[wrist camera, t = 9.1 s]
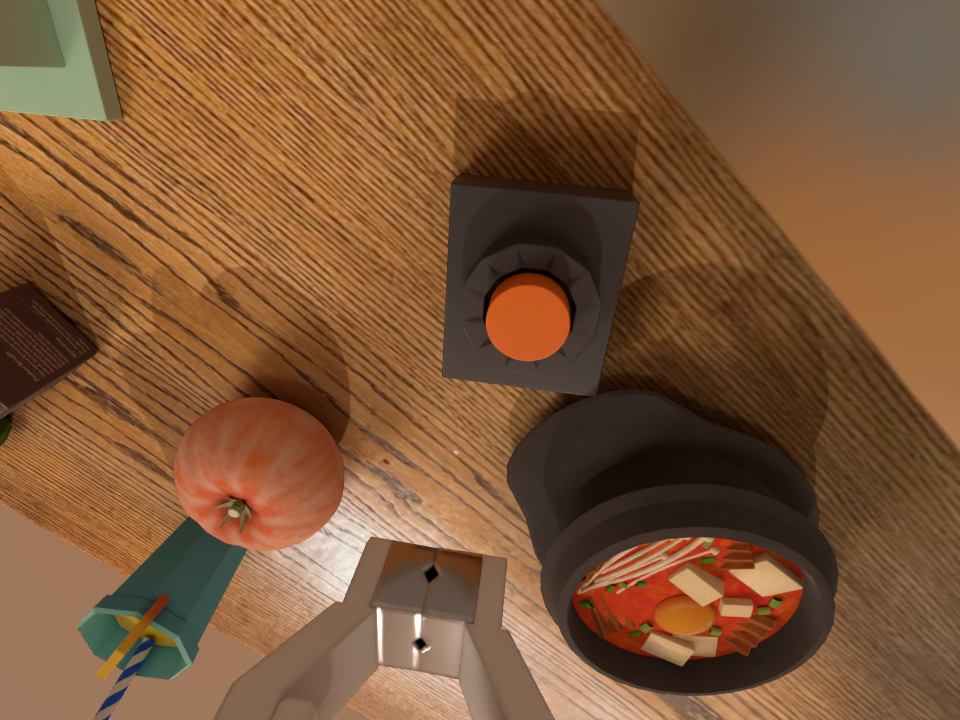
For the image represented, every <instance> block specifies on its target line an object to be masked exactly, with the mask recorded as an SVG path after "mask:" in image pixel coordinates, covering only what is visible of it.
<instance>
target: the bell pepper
mask: <svg viewBox="0 0 960 720" xmlns="http://www.w3.org/2000/svg"><path fill="white" fill-rule="evenodd" d="M10 430H11V425H10V421H9V420H8V419H7V418H5V417H3V418H1V419H0V447H1V445H2V444H3V443H4V442H5V441H6V440H7V438H8V435H9V433H10Z"/></svg>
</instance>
